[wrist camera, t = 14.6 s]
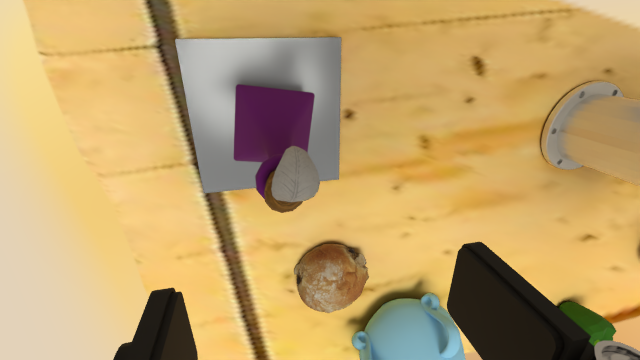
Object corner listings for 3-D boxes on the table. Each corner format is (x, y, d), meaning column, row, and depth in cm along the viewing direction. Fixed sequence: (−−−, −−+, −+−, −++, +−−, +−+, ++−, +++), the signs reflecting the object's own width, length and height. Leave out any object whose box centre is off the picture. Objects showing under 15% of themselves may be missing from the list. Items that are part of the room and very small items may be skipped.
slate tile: (338, 37, 33) (341, 37, 32) (336, 176, 39) (338, 179, 38) (177, 39, 29) (174, 39, 29) (204, 189, 36) (203, 193, 35)
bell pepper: (543, 305, 61) (594, 350, 52) (580, 289, 62) (636, 332, 53) (541, 331, 65) (588, 378, 56) (575, 317, 65) (627, 361, 56)
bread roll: (299, 230, 46) (282, 267, 39) (369, 234, 43) (364, 275, 36) (306, 281, 50) (291, 322, 43) (370, 287, 48) (365, 332, 41)
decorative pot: (444, 332, 58) (497, 409, 46) (365, 368, 57) (398, 457, 45) (430, 271, 50) (490, 344, 38) (340, 312, 49) (371, 400, 37)
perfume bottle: (301, 154, 36) (346, 246, 20) (234, 150, 34) (225, 248, 18) (308, 88, 33) (369, 133, 17) (236, 79, 31) (228, 121, 15)
